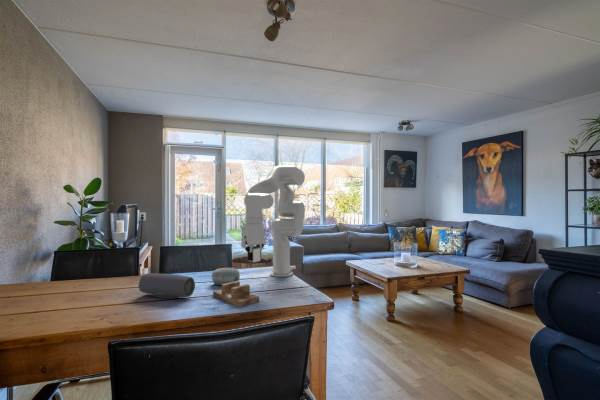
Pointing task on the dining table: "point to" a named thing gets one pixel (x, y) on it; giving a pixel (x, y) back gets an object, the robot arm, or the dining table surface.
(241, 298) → the notched board
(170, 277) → the bluetooth speaker
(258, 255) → the white rectangular block
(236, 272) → the grey yarn ball
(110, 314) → the dining table surface
